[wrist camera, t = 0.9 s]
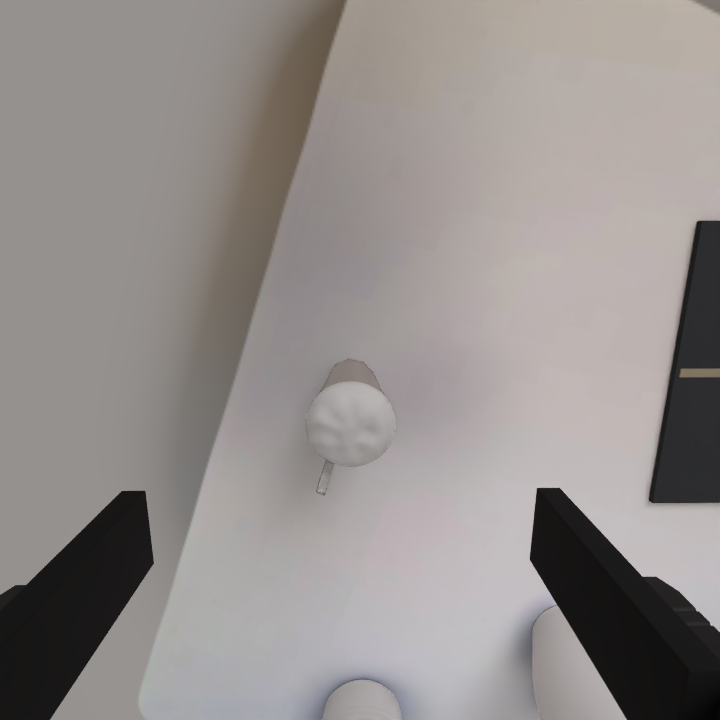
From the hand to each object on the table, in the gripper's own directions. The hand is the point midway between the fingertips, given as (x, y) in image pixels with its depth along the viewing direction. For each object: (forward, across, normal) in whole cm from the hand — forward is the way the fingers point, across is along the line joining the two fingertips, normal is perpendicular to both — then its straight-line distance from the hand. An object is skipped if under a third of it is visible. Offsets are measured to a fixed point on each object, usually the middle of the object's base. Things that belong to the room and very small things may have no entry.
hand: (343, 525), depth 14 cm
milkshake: (+16, 0, 0) cm, 16 cm away
